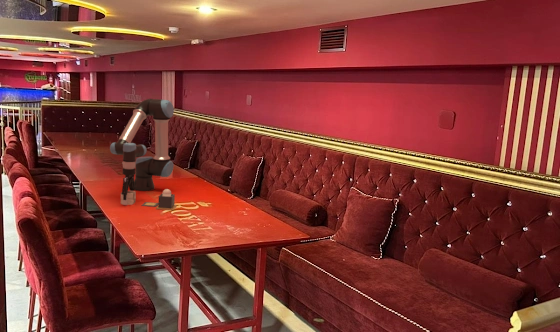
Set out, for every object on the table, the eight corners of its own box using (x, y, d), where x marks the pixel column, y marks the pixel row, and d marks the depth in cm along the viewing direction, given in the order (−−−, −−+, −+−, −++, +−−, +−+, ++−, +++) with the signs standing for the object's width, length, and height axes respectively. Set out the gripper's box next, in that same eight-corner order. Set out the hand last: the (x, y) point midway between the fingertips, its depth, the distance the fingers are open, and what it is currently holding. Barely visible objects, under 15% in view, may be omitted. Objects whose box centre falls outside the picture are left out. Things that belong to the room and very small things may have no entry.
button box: (160, 205, 295) (160, 193, 294) (176, 206, 295) (176, 194, 294) (156, 209, 285) (156, 196, 284) (172, 210, 285) (173, 197, 284)
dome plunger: (163, 203, 292) (163, 187, 291) (171, 203, 292) (172, 188, 291) (161, 205, 287) (161, 189, 286) (169, 205, 287) (170, 190, 286)
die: (124, 201, 298) (124, 190, 296) (135, 202, 298) (135, 191, 296) (120, 204, 291) (120, 192, 290) (131, 204, 291) (132, 193, 290)
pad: (145, 202, 299) (145, 201, 299) (159, 203, 299) (159, 202, 299) (141, 205, 290) (141, 205, 290) (155, 206, 290) (155, 206, 290)
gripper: (128, 164, 302) (128, 198, 305) (116, 170, 279) (115, 206, 282) (140, 165, 302) (139, 199, 306) (129, 171, 279) (128, 207, 283)
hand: (128, 202), depth 294 cm, fingers open, 11 cm apart
